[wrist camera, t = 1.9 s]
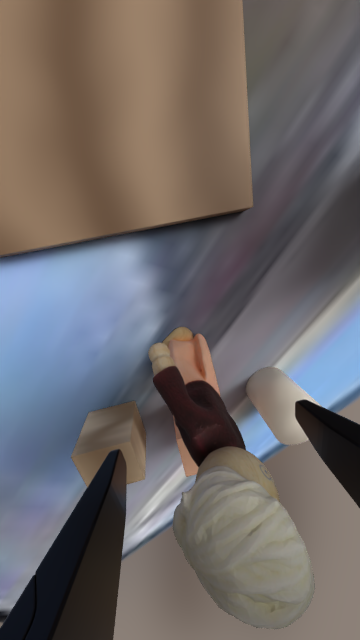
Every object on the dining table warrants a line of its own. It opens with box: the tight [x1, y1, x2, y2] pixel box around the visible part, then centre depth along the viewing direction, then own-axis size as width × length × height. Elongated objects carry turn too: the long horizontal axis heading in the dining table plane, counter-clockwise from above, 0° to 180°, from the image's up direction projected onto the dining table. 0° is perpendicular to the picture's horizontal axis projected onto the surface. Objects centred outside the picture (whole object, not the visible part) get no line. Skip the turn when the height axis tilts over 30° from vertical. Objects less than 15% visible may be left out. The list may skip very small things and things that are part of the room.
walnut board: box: [0, 0, 253, 258], centre depth 10 cm, size 16×12×1 cm
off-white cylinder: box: [246, 367, 322, 445], centre depth 16 cm, size 4×4×4 cm
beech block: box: [71, 401, 146, 487], centre depth 16 cm, size 4×4×4 cm
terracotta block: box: [173, 416, 199, 477], centre depth 16 cm, size 4×4×4 cm
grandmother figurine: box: [148, 327, 315, 629], centre depth 10 cm, size 8×4×13 cm, turn 44°
